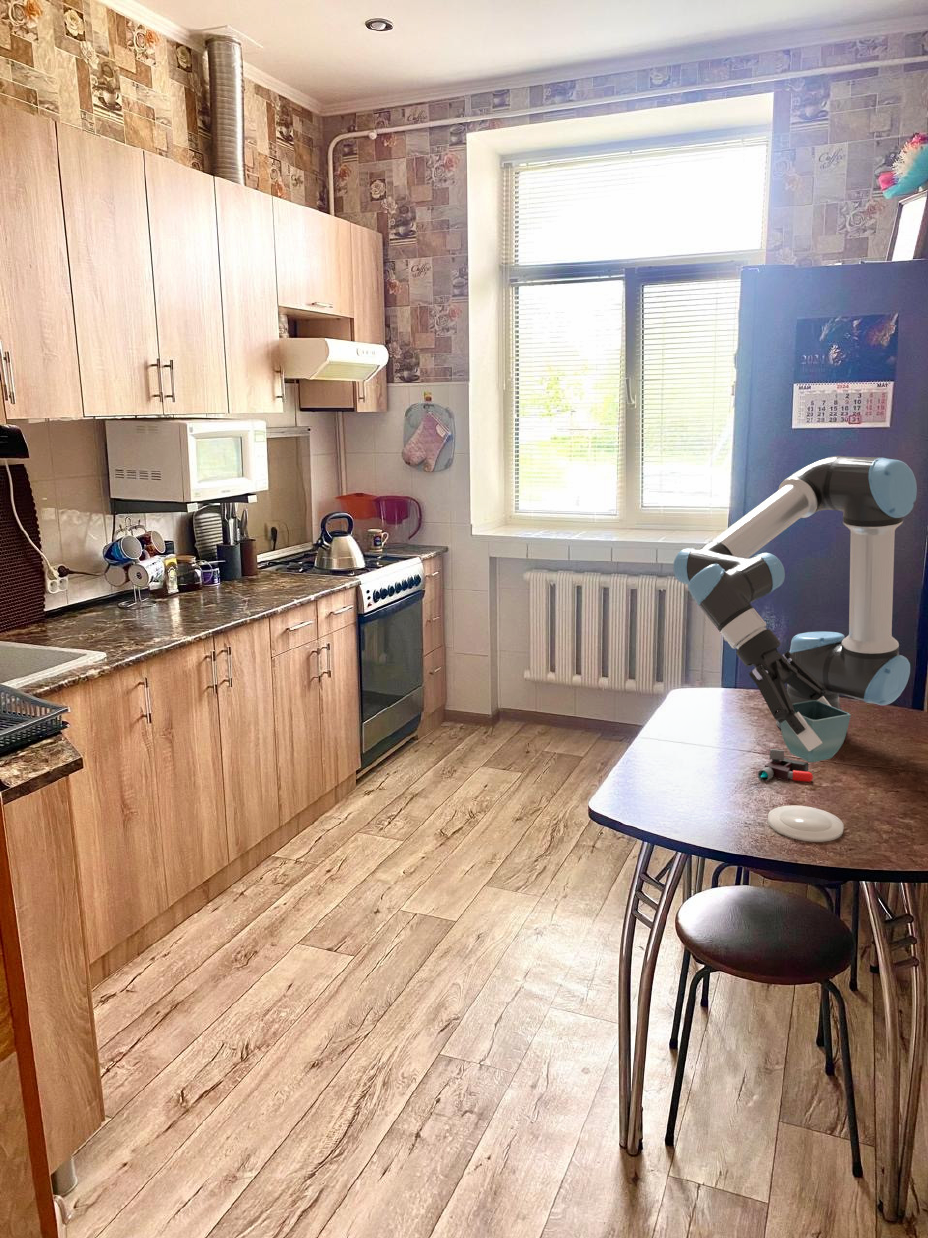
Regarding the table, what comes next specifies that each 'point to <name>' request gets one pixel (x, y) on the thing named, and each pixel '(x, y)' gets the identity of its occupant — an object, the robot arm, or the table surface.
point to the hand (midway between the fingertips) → (828, 738)
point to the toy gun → (785, 768)
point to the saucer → (805, 823)
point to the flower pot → (818, 730)
